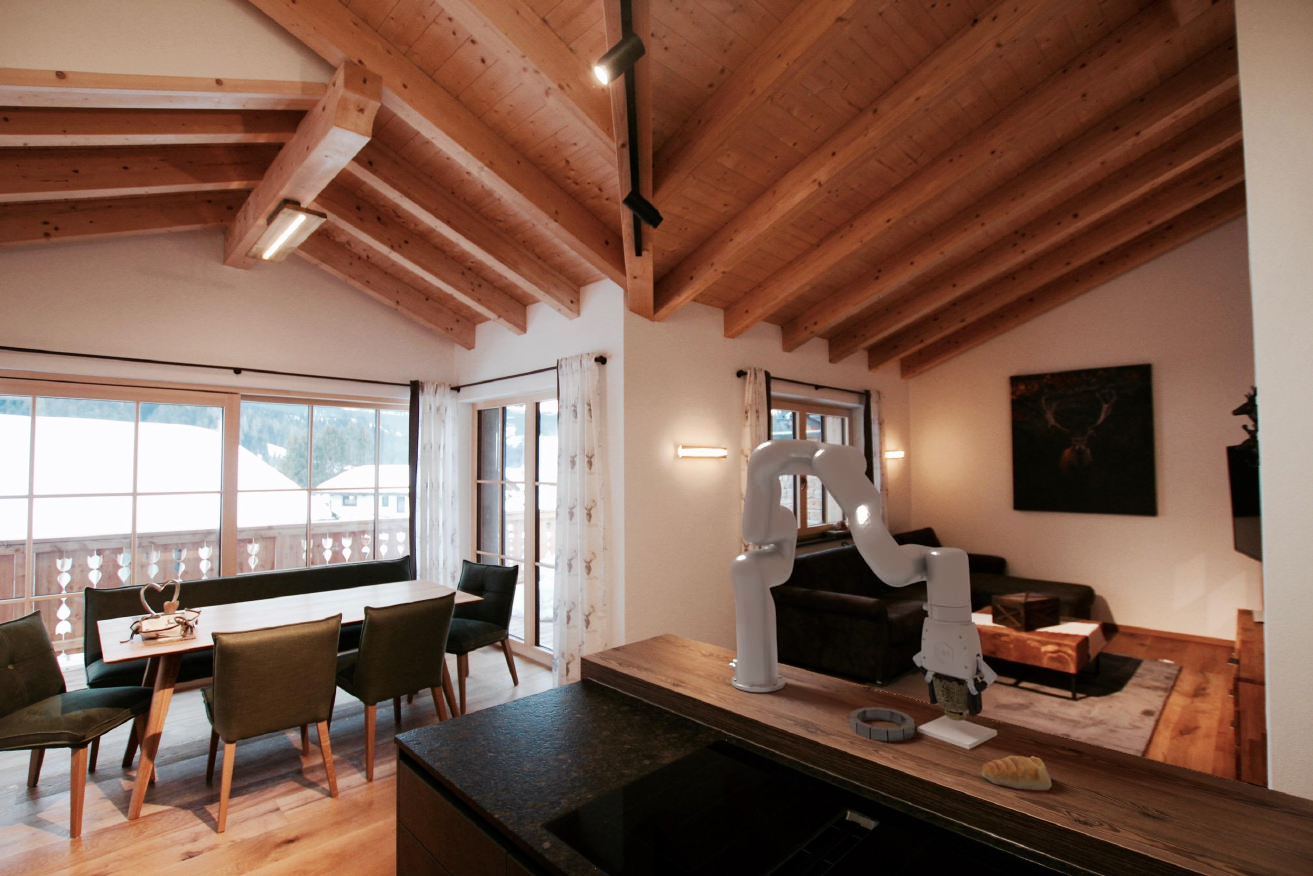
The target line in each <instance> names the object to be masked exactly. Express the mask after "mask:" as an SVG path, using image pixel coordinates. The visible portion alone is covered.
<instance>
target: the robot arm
mask: <svg viewBox="0 0 1313 876" xmlns="http://www.w3.org/2000/svg"><path fill="white" fill-rule="evenodd" d="M867 467H868V465H867V459H866V457H865V455H864V454H863V452H862V451H861V450H860V449H858V448H857V447H855V446H853V445H847V444H839V443H838V444H836V443H830V442H822V441H815V440H810V439H798V438H797V439H795V438H774V439H770V440H767V441H764V442H762V443H760V444H759V445H757V447H755V448H754V450H753V451H752V452H751V454H750V456H749V460H748V463H747V468H746V469H747V470H746V488H745V495H744V502H743V511H742V517H741V518H742V519H741V526H740V527H741V536H742V538H743V540H744V542H745V543H746V544H748V545H751V546H755V547H760V548H758V549H752V550H751V549H750V550H747V551H744V552H742V553H740V554H738V555H737V556H736V557H735V558H734V559H733V561H732V562H731V564H730V570H729V571H730V580H731V584H732V590H733V596H734V607H735V627H736V629H735V631H736V655H737V657H736V658H734V659H733V660H732V662H730V663H729V665H728V666H729V669H732V670H734V673H735V674H734V675H733V676H732V677H731V684H732V686H733V687H734V688H736V689H739V690H741V691H745V692H749V693H771V692H775V691H778V690H781V689H783V688H784V687H785V686H786V680H785V678H784V677H783V676H782V675H780V674H779V673H778V671H779V669H778V668H779V667H778V664H779V663H778V645H777V644H778V642H777V616H776V614H777V613H776V605H775V601H774V597H773V596H772V593H771V590H770V588H773V587H776V586H780V585H783V584H784V583H785V582H787V581H788V580H789V579H790V577H791V574H792V573H793V568H794V562H795V554H796V549H797V548H796V547H797V539H798V522H797V519H796V518H797V517H796V516H795V514H794V512H793V511H792V510H791V509H790V508H789V507H787V506H786V505H781V501H782V491H783V490H782V484H781V480H780V477H781V476H800V475H801V476H810V477H811V476H812V477H816V478H818V480H819V481H820V482H821V484H822V485H823V486H824V488H825V489H826V491H827V492H828V493H829V494H830V496H831V497H832V499H833V500H834V501H835V503H836V504H837V506H839V508H840V510H841V511H842V513H843V514H844V515H845V516H846V518H847V521H848V525H849V529H850V533H851V536H852V539H853V543H854V544H855V547H856V548H857V550H858V552H859V554H860V555H861V556H862V558H863V559H864V561H865V562H866V564H867V565H868V566H869V567H870V569H871V570H872V572H873V573H874V574H875V575H876V577H878V578H879V579H880V580H881V581H882V582H883V583H885V584H887V585H888V586H891V587H896V588H902V587H905V586H908V585H911V584H916V583H918V582H922V581H926V588H927V589H926V590H927V602H926V603H925V602H924V603H923V605H922V609H923V610H924V611H927V615H928V616H927V617H925V618H924V621H923V626H922V632H921V633H922V634H921V650H920V651H919V652H918V653H916V654H915V655H913V657H912V660H913V662H914V663H915V665H916V666H917V667H918V670H919V671H920V673H921V674H922V676H924V680H925V682H926V683H927V684H928V697H929V702H930V703H929V704H930V705H933V706H934V705H936V704H939V703H938V701H937V698H936V695H935V690H934V684H933V678H932V674H933V676H934V675H935V673H938V674H942V675H946V676H950V677H954V678H958V679H963V680H965V681H966V682H967V685H968V688H969V690H970V693H969V694H968V715H969V716H970V717H975V716H977V715H979V714H981V712H982V710H983V697H982V692H984V691H985V690H986V689H988V688H989V687H990V686H991V684H992V683H994V682H995V681H996V680H997V679H998V674H997V673H996V672H995V671H994V670H993V669H992V667H990V665H988V664H987V663H986V662H985V661H984V660H983V651H982V646H981V645H982V644H981V640H980V634H979V631H978V627H977V624H976V622H975V621H973V615H972V601H971V599H972V598H971V582H970V581H971V580H970V565H969V562H970V561H969V557H968V554H967V552H966V551H965V550H964V549H962V548H957V547H946V546H945V547H944V546H943V547H933V546H927V545H926V546H925V545H922V544H921V545H920V544H917V543H916V544H915V543H914V544H913V543H907V544H903V545H899V544H898V542H896V541H897V540H895V539H894V538H893V536H892V535H891V533H890V532H889V531H888V529H887V527H886V526H885V523H884V520H883V519H882V515H881V509H882V504H883V496H882V494H881V492H880V491H879V490H878V489H877V488H876V487H875V485H874V484H873V483H872V481H870V479H869V477H868V476H867V475H866V474H865V473H866V471H867ZM982 675H983V676H984V678H982V679H980V677H979V676H982Z"/></svg>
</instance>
